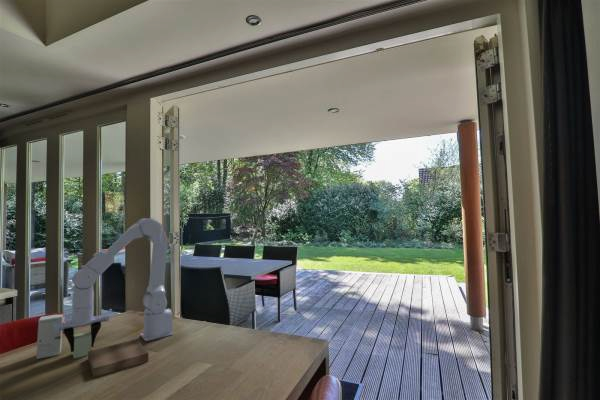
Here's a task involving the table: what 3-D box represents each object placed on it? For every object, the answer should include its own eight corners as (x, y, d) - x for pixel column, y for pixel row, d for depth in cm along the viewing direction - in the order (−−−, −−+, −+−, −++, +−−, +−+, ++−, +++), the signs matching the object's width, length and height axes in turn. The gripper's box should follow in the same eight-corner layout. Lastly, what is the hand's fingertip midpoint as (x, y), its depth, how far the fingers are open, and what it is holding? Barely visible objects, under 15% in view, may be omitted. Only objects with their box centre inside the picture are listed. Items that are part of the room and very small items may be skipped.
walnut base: (137, 346, 103) (137, 338, 103) (148, 361, 92) (148, 352, 92) (87, 359, 93) (88, 351, 94) (93, 377, 83) (93, 368, 83)
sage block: (89, 349, 101) (90, 331, 101) (91, 354, 97) (91, 335, 97) (72, 353, 98) (73, 335, 98) (73, 358, 94) (74, 339, 94)
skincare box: (35, 359, 94) (37, 320, 94) (38, 354, 98) (39, 316, 98) (60, 354, 97) (61, 316, 98) (62, 349, 101) (63, 313, 102)
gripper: (107, 299, 106) (106, 338, 105) (54, 308, 96) (53, 351, 96) (110, 303, 101) (109, 345, 100) (54, 313, 91) (53, 359, 90)
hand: (82, 348), depth 97 cm, fingers closed on sage block, 4 cm apart
